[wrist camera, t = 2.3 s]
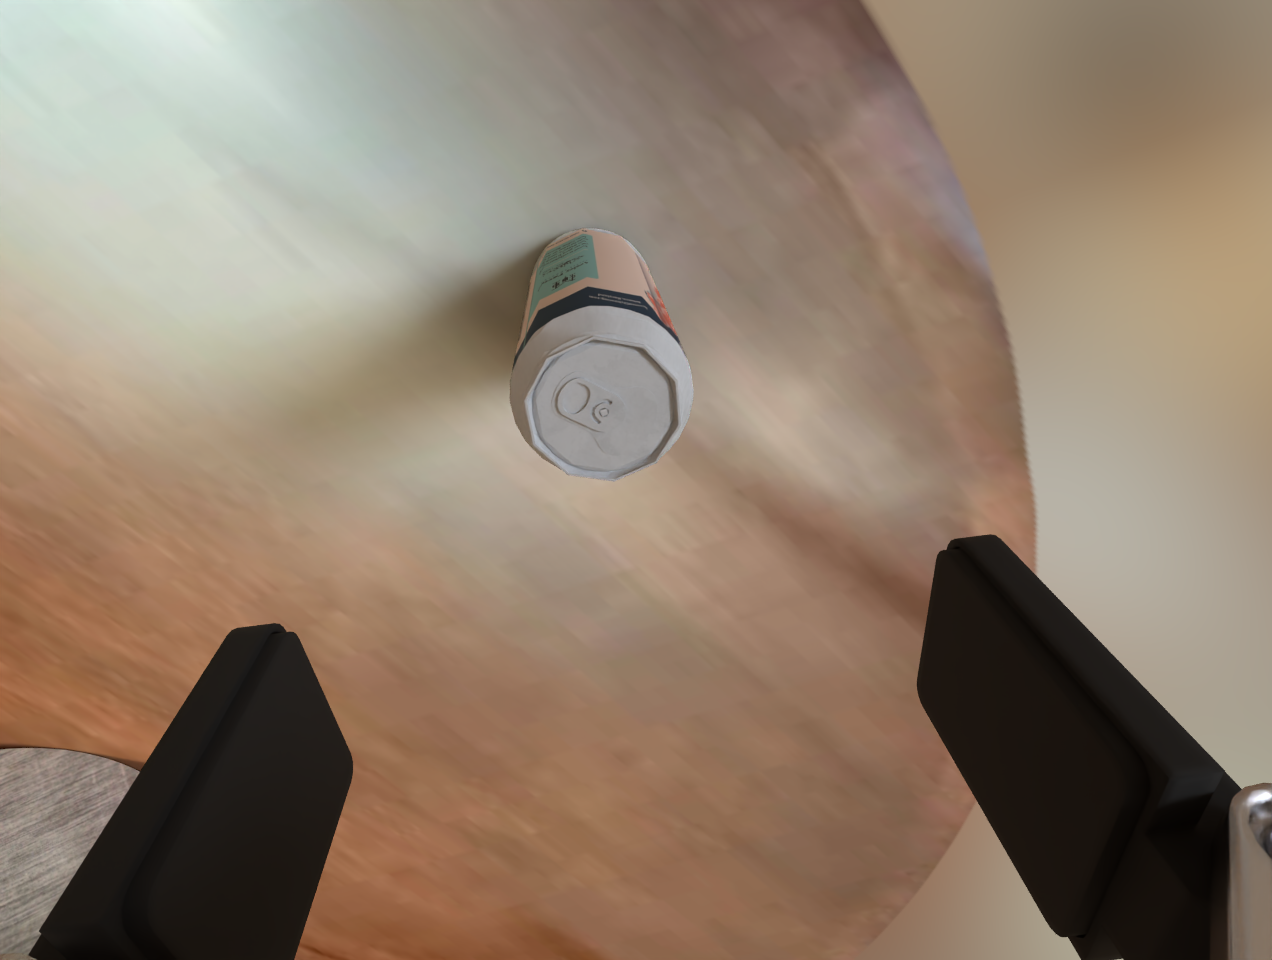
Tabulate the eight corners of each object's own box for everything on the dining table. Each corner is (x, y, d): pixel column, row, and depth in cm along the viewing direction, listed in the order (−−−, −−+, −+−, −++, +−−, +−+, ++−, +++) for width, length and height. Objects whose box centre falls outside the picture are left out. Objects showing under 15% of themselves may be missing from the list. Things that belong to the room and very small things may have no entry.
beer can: (614, 365, 29) (638, 521, 19) (510, 312, 27) (475, 450, 17) (672, 263, 27) (736, 375, 17) (564, 201, 26) (561, 280, 15)
